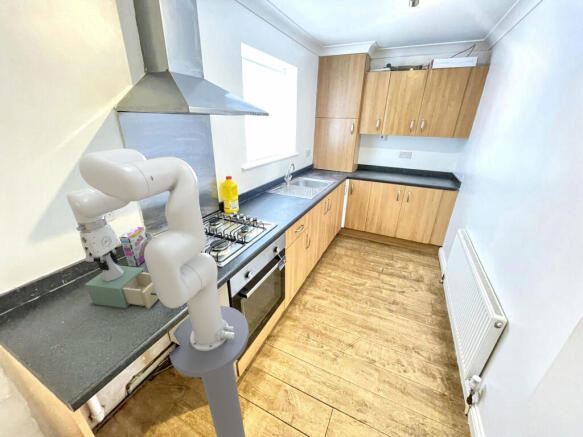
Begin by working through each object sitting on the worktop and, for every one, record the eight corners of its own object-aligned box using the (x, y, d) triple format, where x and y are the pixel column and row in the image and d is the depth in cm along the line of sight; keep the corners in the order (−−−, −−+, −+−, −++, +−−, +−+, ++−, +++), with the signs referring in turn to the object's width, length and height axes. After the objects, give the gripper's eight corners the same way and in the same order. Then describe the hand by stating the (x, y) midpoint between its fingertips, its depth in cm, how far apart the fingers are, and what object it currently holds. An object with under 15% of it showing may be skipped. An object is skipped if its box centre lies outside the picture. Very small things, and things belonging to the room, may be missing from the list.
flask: (126, 275, 92) (118, 254, 88) (104, 284, 87) (94, 262, 83) (122, 267, 97) (114, 247, 92) (100, 275, 92) (91, 254, 88)
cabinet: (149, 286, 100) (143, 268, 96) (126, 308, 89) (118, 288, 85) (120, 282, 102) (113, 264, 98) (93, 303, 91) (84, 284, 87)
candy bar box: (138, 267, 113) (128, 237, 106) (128, 266, 113) (117, 237, 106) (152, 254, 123) (144, 226, 116) (143, 254, 123) (134, 226, 116)
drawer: (183, 289, 97) (179, 274, 94) (165, 310, 87) (160, 294, 84) (140, 284, 100) (135, 269, 97) (118, 304, 90) (111, 288, 86)
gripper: (79, 235, 74) (99, 281, 82) (121, 215, 89) (134, 255, 97) (59, 234, 76) (80, 279, 83) (104, 214, 90) (119, 254, 98)
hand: (109, 266), depth 90 cm, fingers closed on flask, 3 cm apart
